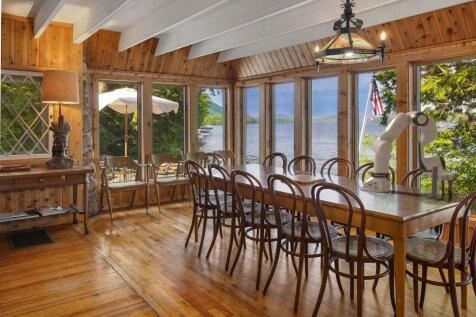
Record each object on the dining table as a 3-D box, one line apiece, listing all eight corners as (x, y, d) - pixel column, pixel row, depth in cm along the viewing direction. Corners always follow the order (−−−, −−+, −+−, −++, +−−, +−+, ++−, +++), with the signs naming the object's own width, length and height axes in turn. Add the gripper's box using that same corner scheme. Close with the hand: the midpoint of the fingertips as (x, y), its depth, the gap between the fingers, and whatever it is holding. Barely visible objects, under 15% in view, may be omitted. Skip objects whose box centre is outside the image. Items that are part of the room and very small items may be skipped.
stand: (426, 198, 263) (427, 166, 260) (427, 195, 272) (429, 165, 270) (441, 199, 258) (442, 167, 256) (442, 196, 267) (443, 165, 265)
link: (431, 187, 276) (432, 167, 275) (431, 186, 280) (432, 167, 279) (440, 187, 273) (441, 168, 272) (441, 186, 277) (441, 167, 276)
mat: (419, 195, 274) (419, 194, 274) (420, 193, 281) (420, 192, 281) (431, 196, 270) (431, 195, 270) (432, 194, 277) (432, 193, 277)
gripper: (423, 169, 293) (421, 172, 281) (453, 171, 282) (452, 173, 271) (422, 178, 294) (420, 180, 282) (453, 179, 283) (452, 182, 271)
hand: (436, 177), depth 276 cm, fingers closed on link, 6 cm apart
